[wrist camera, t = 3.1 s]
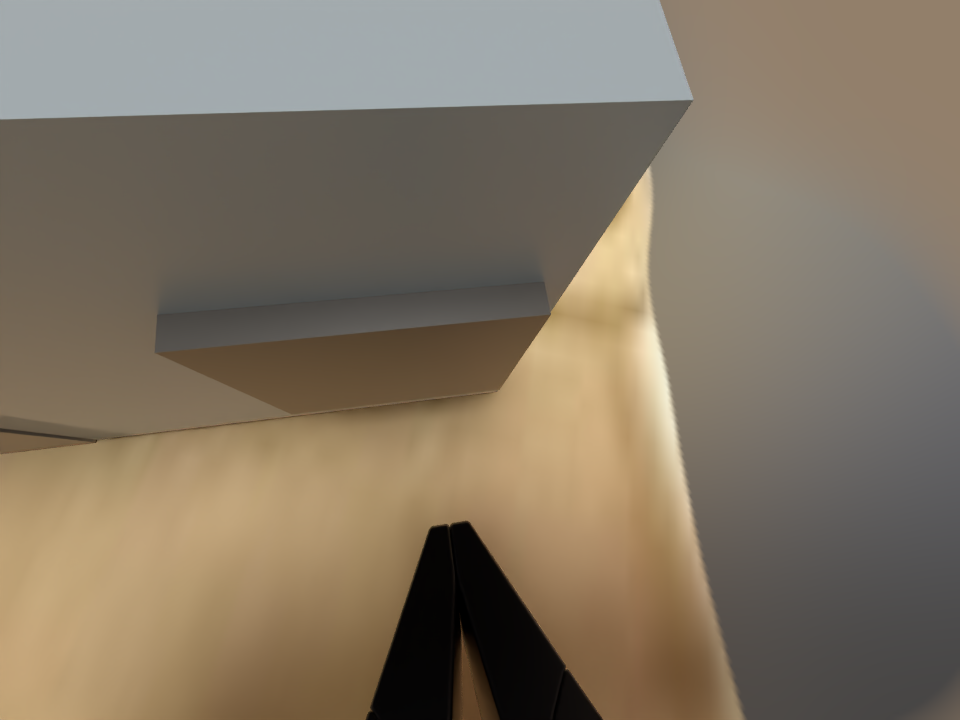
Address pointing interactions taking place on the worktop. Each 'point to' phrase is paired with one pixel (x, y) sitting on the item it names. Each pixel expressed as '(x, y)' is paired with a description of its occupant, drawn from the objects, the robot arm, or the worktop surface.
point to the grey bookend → (303, 197)
